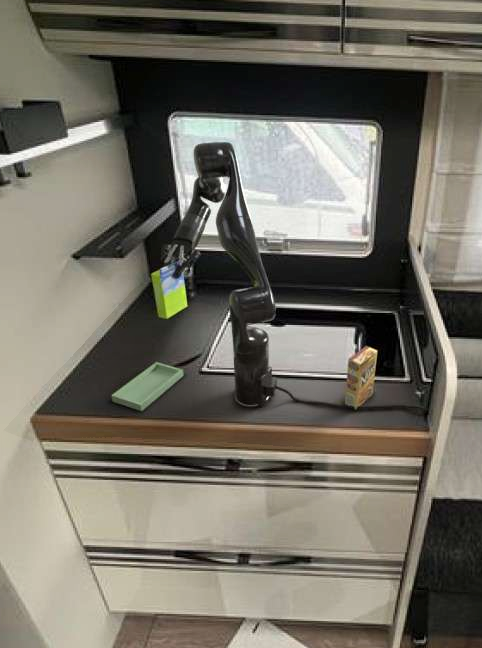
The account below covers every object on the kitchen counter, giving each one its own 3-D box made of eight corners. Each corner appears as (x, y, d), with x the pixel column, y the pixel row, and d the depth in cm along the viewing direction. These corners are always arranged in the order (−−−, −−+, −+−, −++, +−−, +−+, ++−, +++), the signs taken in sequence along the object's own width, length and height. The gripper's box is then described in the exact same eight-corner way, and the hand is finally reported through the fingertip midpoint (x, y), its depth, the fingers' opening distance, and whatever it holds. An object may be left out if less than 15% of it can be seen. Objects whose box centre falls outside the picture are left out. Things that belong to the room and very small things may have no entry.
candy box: (356, 410, 110) (361, 364, 103) (343, 404, 112) (347, 358, 105) (372, 394, 116) (378, 350, 110) (360, 388, 118) (365, 344, 112)
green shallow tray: (183, 375, 118) (183, 369, 117) (141, 411, 104) (140, 405, 103) (157, 367, 121) (156, 361, 120) (112, 401, 106) (111, 395, 105)
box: (179, 304, 137) (172, 256, 130) (189, 306, 136) (183, 258, 129) (156, 317, 128) (148, 267, 121) (167, 320, 127) (159, 269, 120)
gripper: (166, 221, 131) (144, 267, 126) (203, 227, 127) (181, 275, 122) (179, 232, 138) (158, 277, 132) (214, 239, 134) (194, 285, 129)
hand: (169, 276), depth 127 cm, fingers closed on box, 4 cm apart
